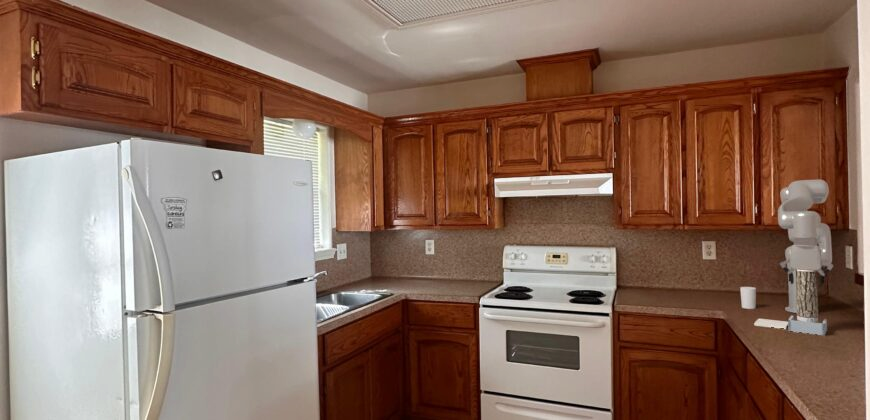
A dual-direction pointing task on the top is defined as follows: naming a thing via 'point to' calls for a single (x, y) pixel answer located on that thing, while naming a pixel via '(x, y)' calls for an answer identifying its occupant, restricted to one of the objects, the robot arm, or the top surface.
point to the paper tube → (806, 295)
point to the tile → (771, 323)
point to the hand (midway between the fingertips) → (806, 284)
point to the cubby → (807, 326)
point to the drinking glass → (748, 297)
